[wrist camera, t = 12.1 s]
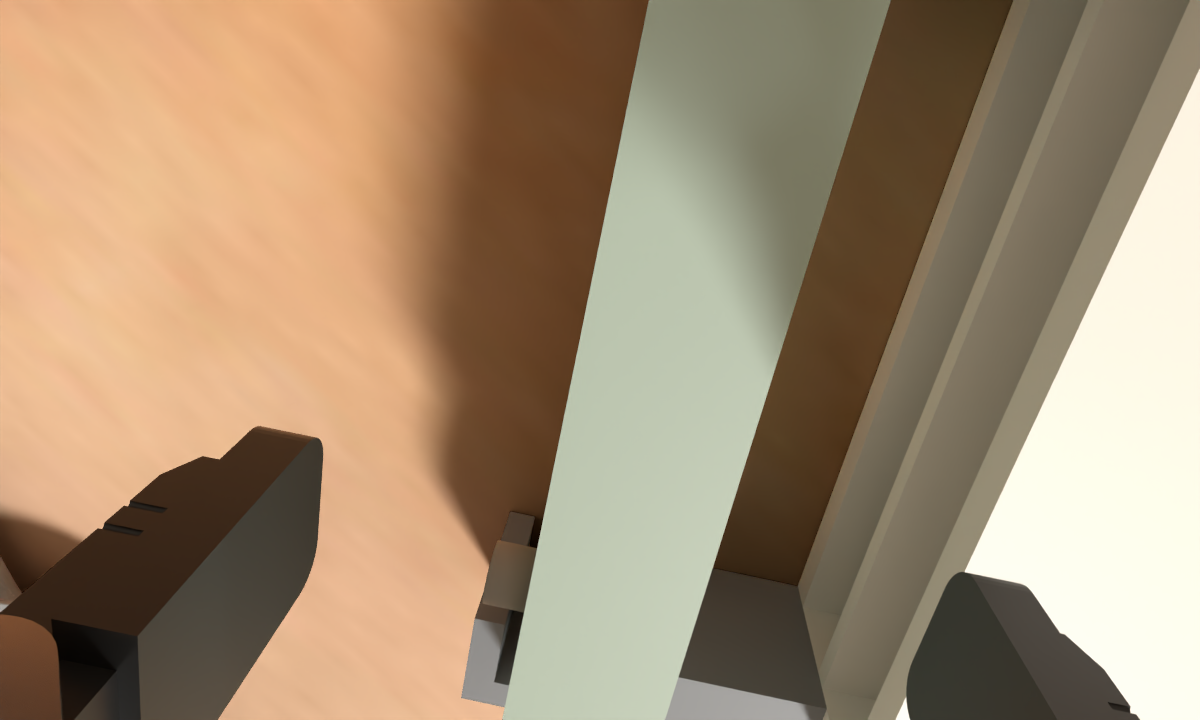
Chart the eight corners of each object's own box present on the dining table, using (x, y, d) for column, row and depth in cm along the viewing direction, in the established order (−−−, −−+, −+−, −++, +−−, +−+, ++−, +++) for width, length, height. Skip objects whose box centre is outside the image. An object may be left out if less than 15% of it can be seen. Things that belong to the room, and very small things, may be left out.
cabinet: (497, 581, 26) (430, 795, 19) (644, -231, 17) (628, -430, 10) (954, 678, 26) (1067, 931, 19) (1329, -83, 17) (1817, -172, 10)
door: (509, 548, 26) (420, 833, 17) (641, -157, 18) (613, -360, 9) (634, 575, 26) (616, 876, 17) (820, -118, 18) (978, -279, 9)
